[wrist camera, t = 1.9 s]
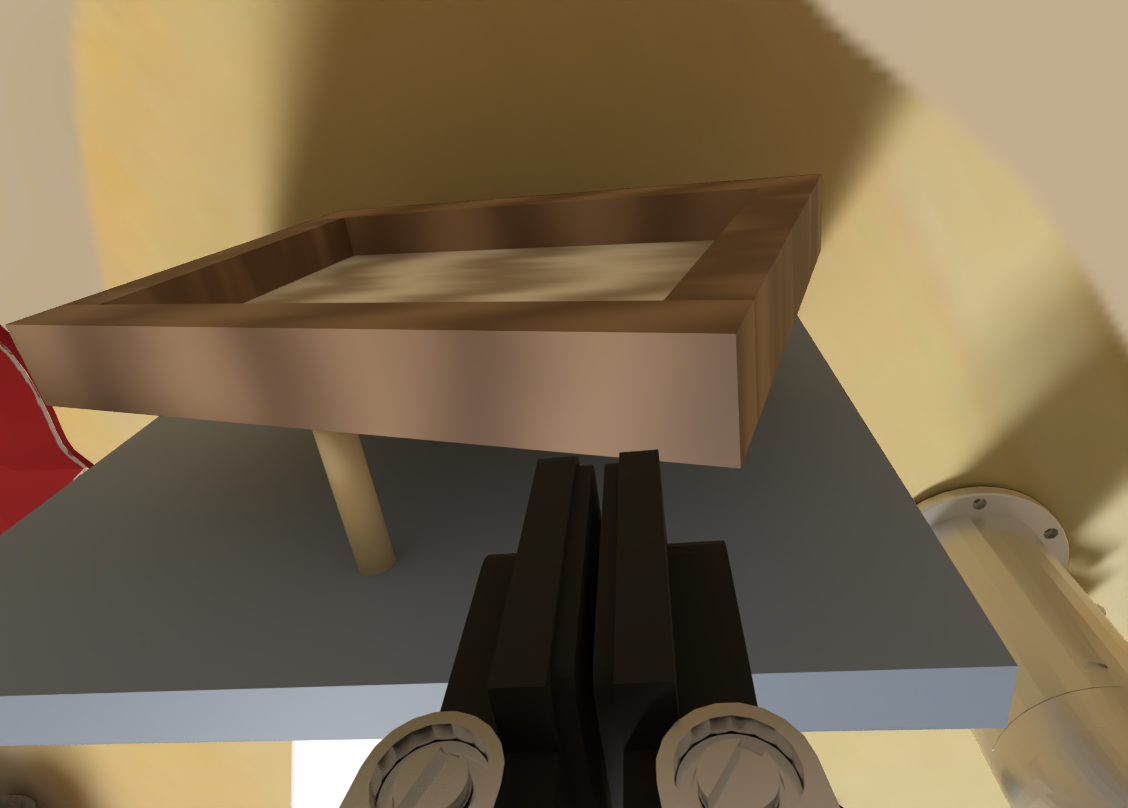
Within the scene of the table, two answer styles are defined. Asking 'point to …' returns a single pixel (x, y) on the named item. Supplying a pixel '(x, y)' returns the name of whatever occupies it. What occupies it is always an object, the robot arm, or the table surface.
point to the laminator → (325, 770)
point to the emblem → (29, 442)
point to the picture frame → (467, 323)
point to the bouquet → (16, 801)
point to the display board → (455, 579)
